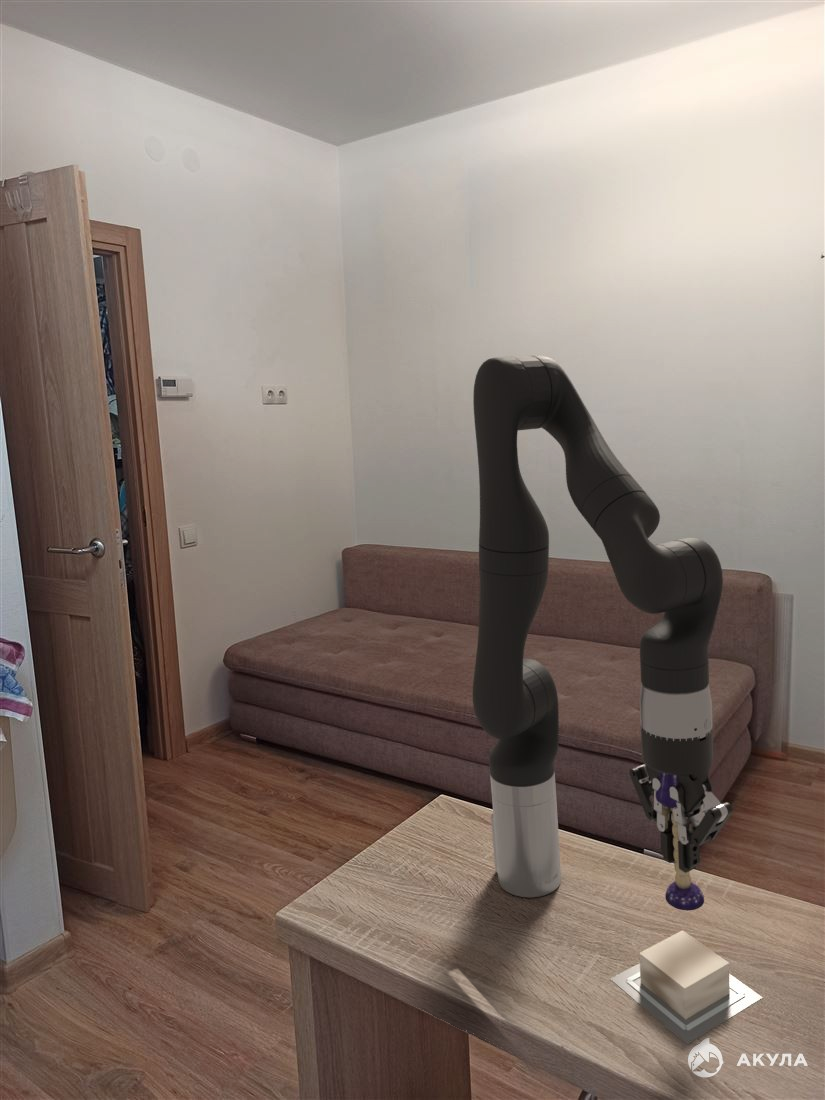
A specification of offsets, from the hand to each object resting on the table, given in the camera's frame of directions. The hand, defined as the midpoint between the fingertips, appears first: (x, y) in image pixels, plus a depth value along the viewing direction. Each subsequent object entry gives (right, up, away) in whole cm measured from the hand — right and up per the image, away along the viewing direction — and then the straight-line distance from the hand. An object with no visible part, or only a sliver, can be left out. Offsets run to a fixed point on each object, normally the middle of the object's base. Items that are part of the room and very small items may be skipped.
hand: (680, 863), depth 93 cm
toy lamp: (+1, -5, +1) cm, 5 cm away
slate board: (+2, -17, +3) cm, 17 cm away
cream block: (+1, -16, +3) cm, 16 cm away
